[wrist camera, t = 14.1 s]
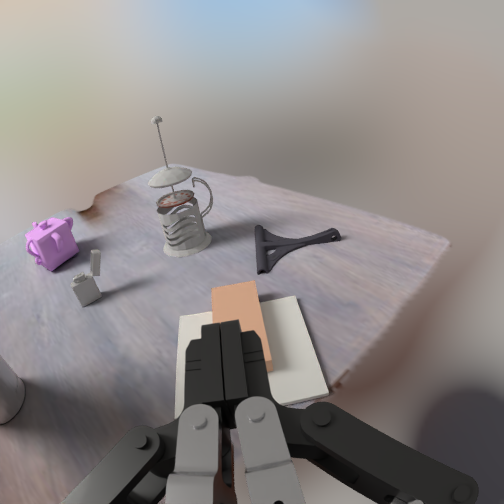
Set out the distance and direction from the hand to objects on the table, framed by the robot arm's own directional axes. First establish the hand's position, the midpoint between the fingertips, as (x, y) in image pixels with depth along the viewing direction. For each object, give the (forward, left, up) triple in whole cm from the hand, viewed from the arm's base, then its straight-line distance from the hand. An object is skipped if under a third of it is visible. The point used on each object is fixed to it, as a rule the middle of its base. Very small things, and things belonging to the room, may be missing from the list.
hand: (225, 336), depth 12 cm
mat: (+4, +15, -20) cm, 25 cm away
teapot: (-22, +62, -20) cm, 69 cm away
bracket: (+23, +31, -21) cm, 44 cm away
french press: (+8, +45, -20) cm, 50 cm away
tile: (+3, +11, -18) cm, 21 cm away
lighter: (-12, +39, -20) cm, 45 cm away
